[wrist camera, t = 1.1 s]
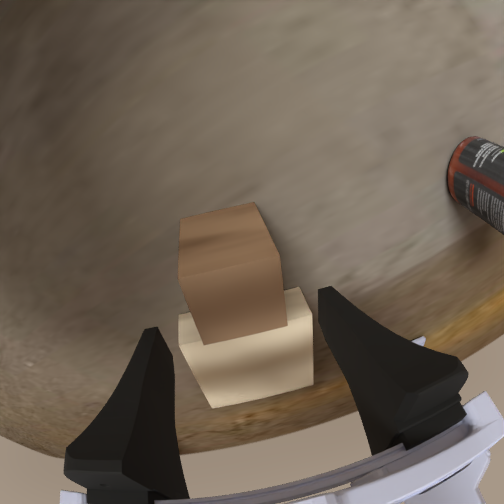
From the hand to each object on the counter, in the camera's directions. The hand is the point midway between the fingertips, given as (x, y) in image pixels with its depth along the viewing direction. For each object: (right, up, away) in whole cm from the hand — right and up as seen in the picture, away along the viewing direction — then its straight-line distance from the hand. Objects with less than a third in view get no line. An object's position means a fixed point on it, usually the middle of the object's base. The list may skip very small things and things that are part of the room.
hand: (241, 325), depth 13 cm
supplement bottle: (+18, +10, +7) cm, 21 cm away
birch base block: (0, -4, +11) cm, 12 cm away
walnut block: (-1, +4, +6) cm, 7 cm away
